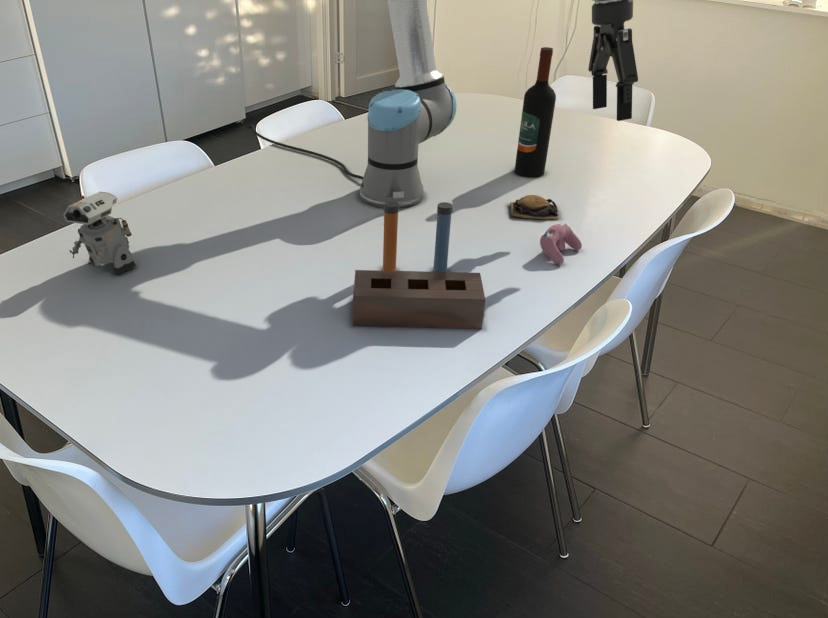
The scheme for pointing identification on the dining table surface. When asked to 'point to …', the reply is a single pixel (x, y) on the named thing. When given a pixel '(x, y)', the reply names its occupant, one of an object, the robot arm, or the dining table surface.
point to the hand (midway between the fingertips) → (611, 113)
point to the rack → (418, 299)
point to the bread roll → (534, 208)
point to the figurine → (101, 231)
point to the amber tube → (390, 235)
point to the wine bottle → (536, 122)
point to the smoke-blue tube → (442, 236)
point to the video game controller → (558, 242)
